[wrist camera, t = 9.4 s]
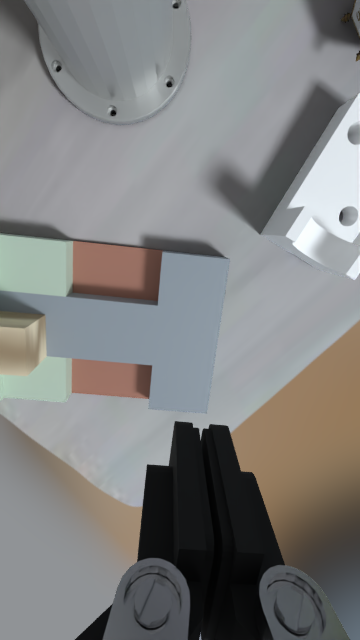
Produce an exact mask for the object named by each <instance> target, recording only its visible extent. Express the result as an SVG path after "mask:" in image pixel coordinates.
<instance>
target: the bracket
mask: <svg viewBox="0 0 360 640" xmlns="http://www.w3.org/2000/svg"><path fill="white" fill-rule="evenodd" d="M341 211H342V213H343V219H342V221H341V223H340V221H339V214H340V212H341ZM359 232H360V93H358V94H357V95H355V96H354V97H353V98H351V99H350V100H349V101H347V102H346V103H344V104H343V105H342V106H340V107H339V108H338V109H337V111H336V113H335V114H334V116H333V118H332V119H331V121H330V122H329V124H328V126H327V127H326V129H325V130H324V132H323V134H322V135H321V137H320V139H319V140H318V142H317V143H316V145H315V147H314V148H313V150H312V151H311V153H310V155H309V156H308V158H307V160H306V161H305V163H304V164H303V166H302V168H301V169H300V171H299V173H298V174H297V176H296V177H295V179H294V181H293V182H292V184H291V185H290V187H289V189H288V190H287V192H286V194H285V195H284V197H283V198H282V200H281V202H280V203H279V205H278V206H277V208H276V210H275V211H274V213H273V215H272V216H271V218H270V219H269V221H268V223H267V224H266V226H265V227H264V229H263V231H262V232H261V234H260V235H261V236H263V237H265V238H266V239H268V240H269V241H271V242H273V243H274V244H276V245H278V246H279V247H281V248H282V249H284V250H286V251H287V252H290V253H292V254H294V255H295V256H297V257H298V258H300V259H302V260H303V261H305V262H306V263H308V264H310V265H311V266H313V267H314V268H316V269H318V270H320V271H324V272H328V273H331V274H335V275H338V276H342V277H346V278H349V279H353V280H355V279H356V277H357V276H358V275H359V273H360V245H357V244H354V243H352V242H353V241H354V239H355V238H356V236H357V235H358V234H359Z"/></svg>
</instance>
